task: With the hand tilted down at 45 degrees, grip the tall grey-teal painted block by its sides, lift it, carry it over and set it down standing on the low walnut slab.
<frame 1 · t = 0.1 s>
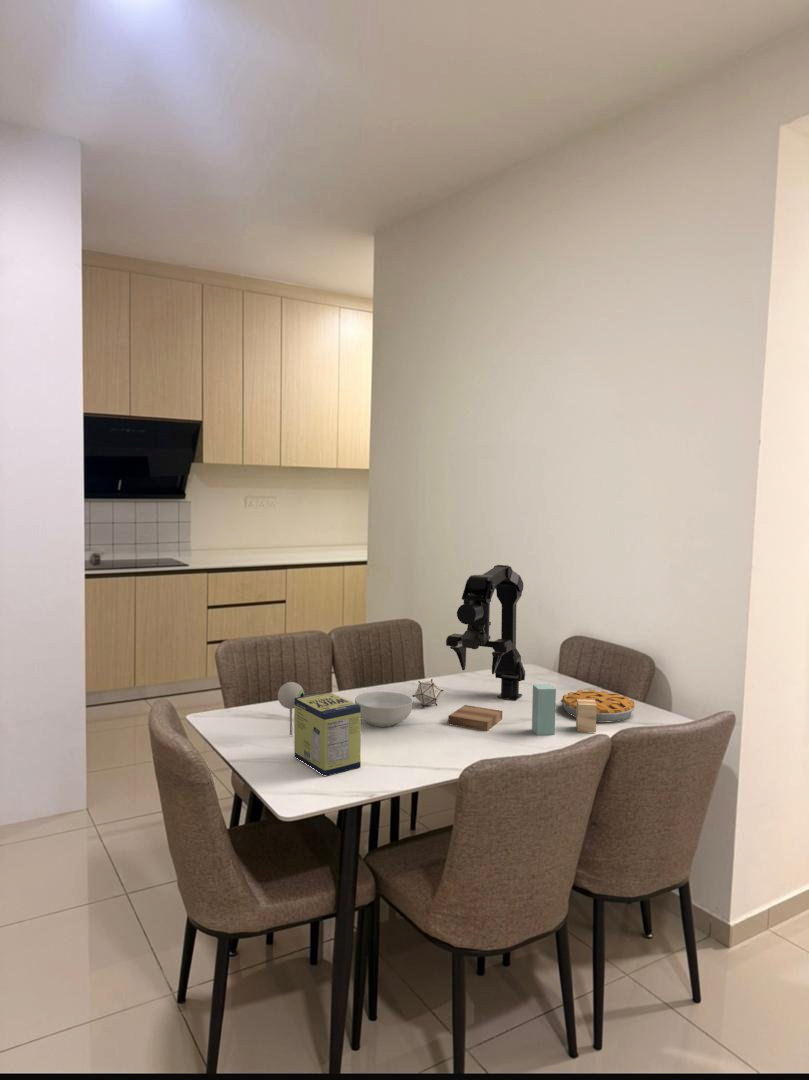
hand: (478, 672, 220), 15 cm above the table, tool pointing down, fingers open, 9 cm apart
walnut slab: (475, 723, 221), on the table
protein box: (326, 763, 188), on the table
teal block: (543, 732, 212), on the table
cereal bowl: (383, 723, 219), on the table
lollipop: (290, 737, 206), on the table
oak block: (585, 729, 215), on the table
pie: (597, 713, 231), on the table
wireframe polyhedron model: (427, 706, 236), on the table
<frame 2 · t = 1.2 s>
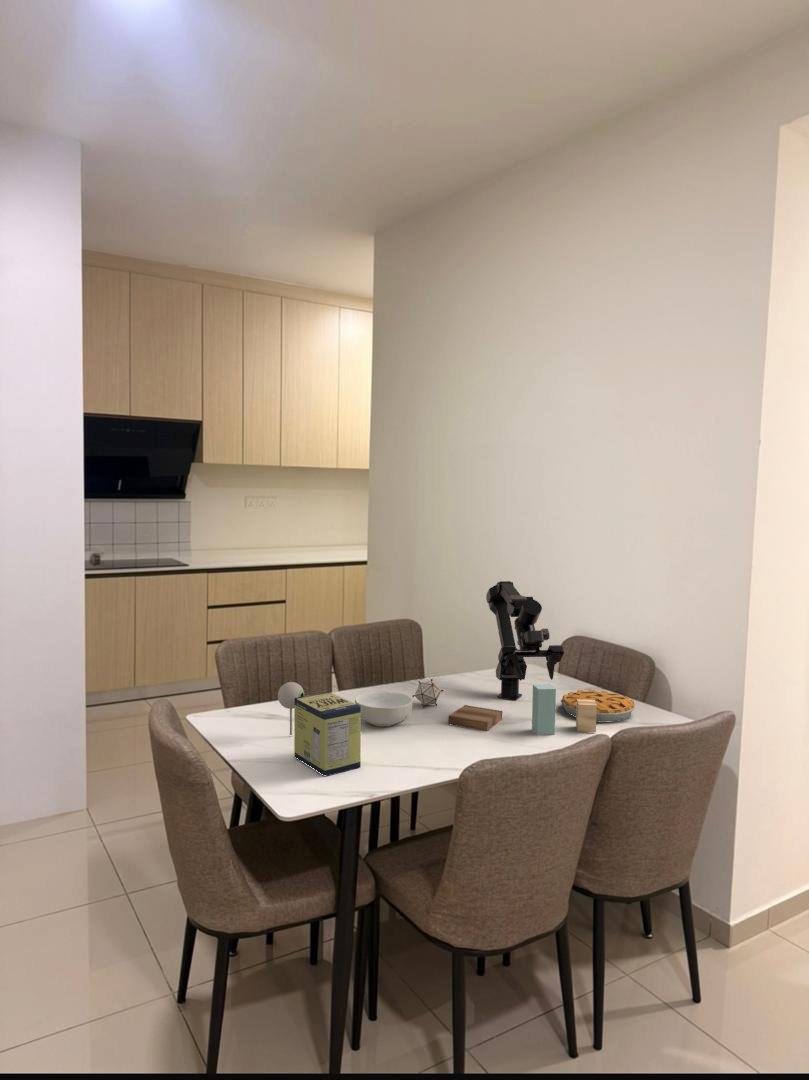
hand: (536, 679, 218), 13 cm above the table, tool tilted 45°, fingers open, 9 cm apart
nothing on the table moved.
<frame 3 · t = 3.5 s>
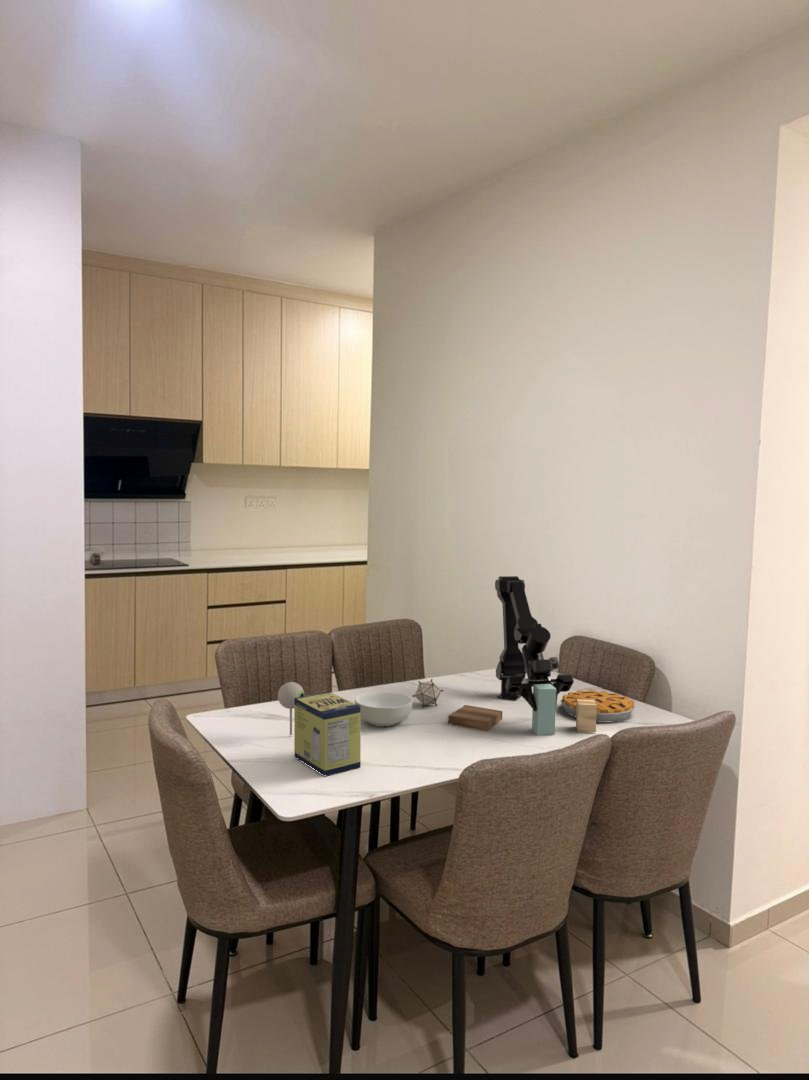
hand: (545, 710, 210), 7 cm above the table, tool tilted 45°, fingers closed on teal block, 5 cm apart
teal block: (543, 731, 212), on the table, touching gripper
everything else where it was.
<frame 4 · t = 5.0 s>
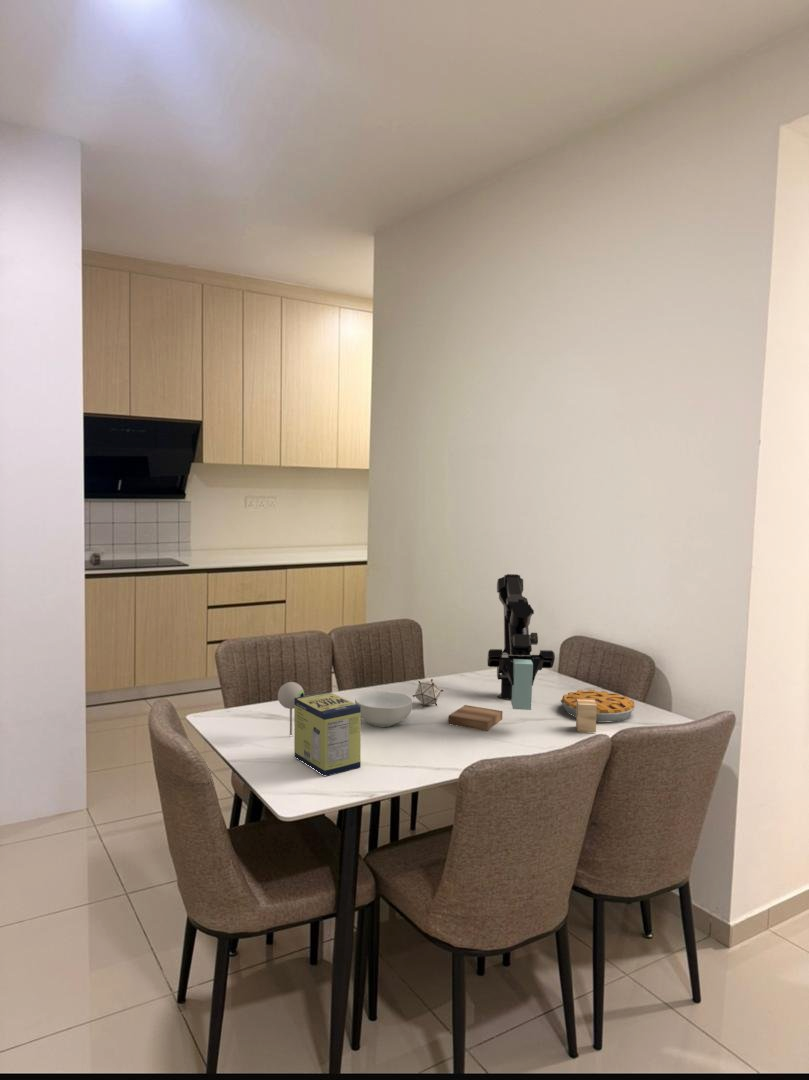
hand: (522, 684, 211), 13 cm above the table, tool tilted 45°, fingers closed on teal block, 5 cm apart
teal block: (521, 706, 213), point 7 cm above the table, touching gripper
everything else where it was.
when the fingers open (11 cm above the table, at t = 6.6 s): teal block drops 2 cm, resting on walnut slab.
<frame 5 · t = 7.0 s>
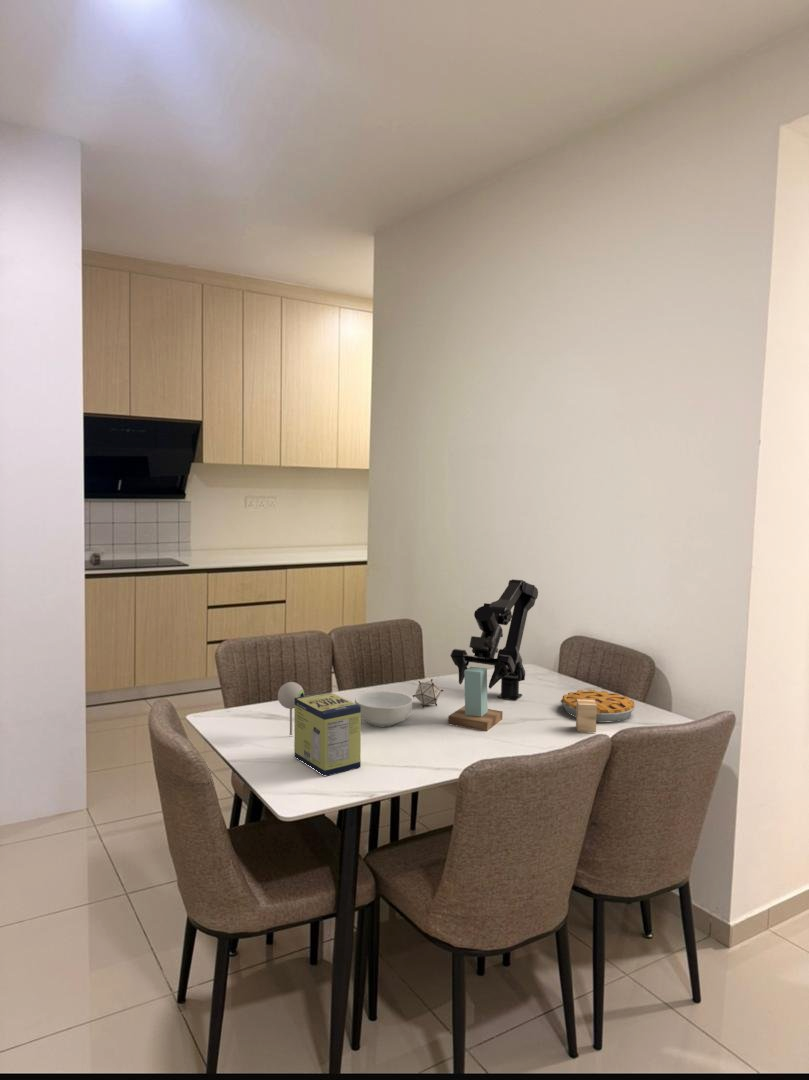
hand: (474, 685, 218), 11 cm above the table, tool tilted 45°, fingers open, 9 cm apart
walnut slab: (475, 723, 221), on the table, touching teal block
teal block: (476, 713, 220), point 2 cm above the table, touching walnut slab
everything else where it was.
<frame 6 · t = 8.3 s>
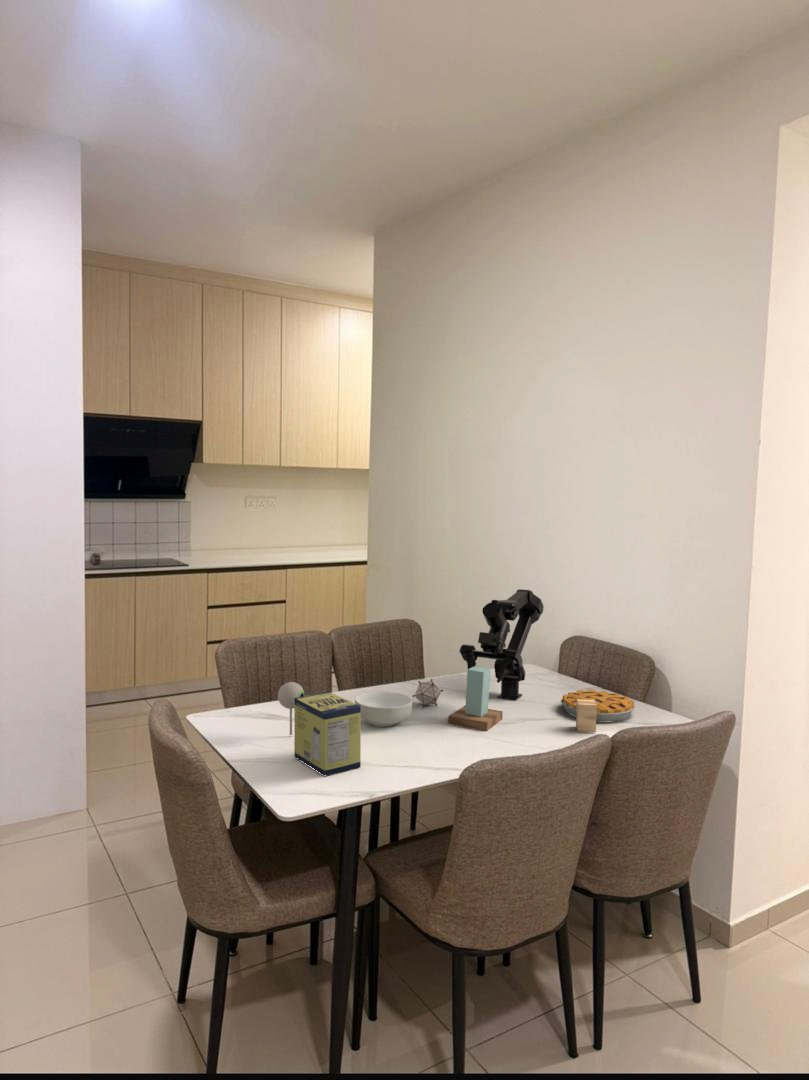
hand: (483, 680, 224), 11 cm above the table, tool tilted 45°, fingers open, 9 cm apart
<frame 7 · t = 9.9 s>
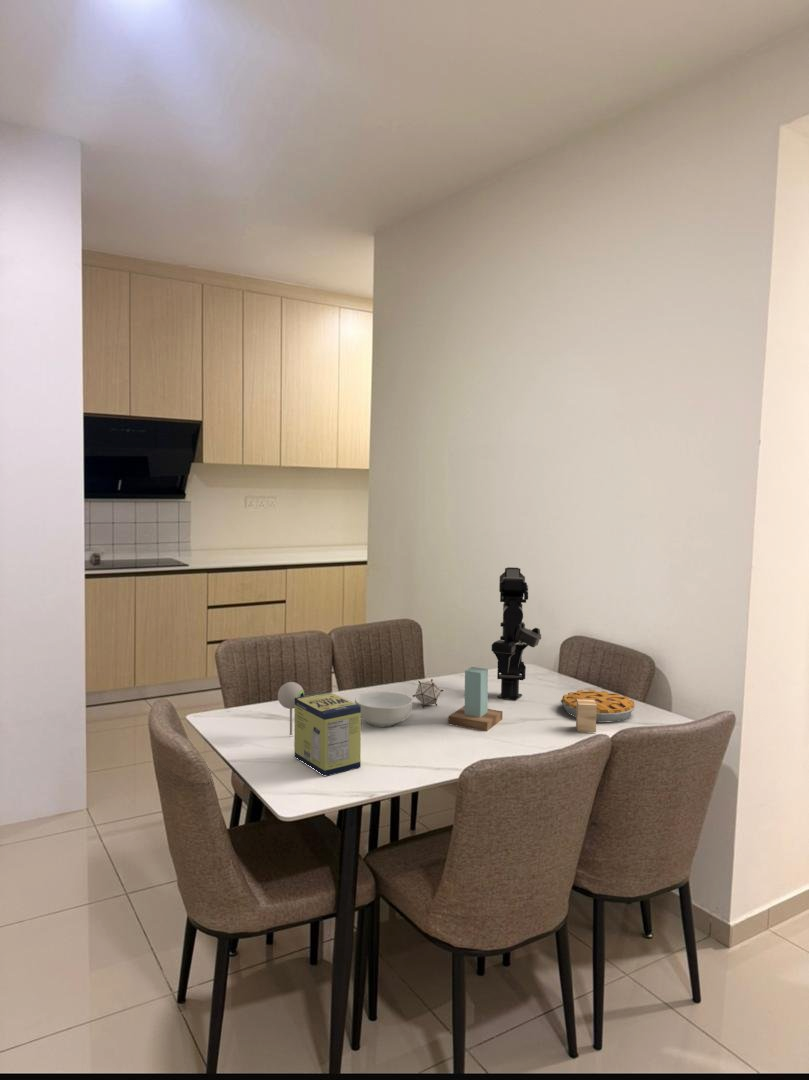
hand: (511, 670, 228), 13 cm above the table, tool pointing down, fingers open, 9 cm apart
nothing on the table moved.
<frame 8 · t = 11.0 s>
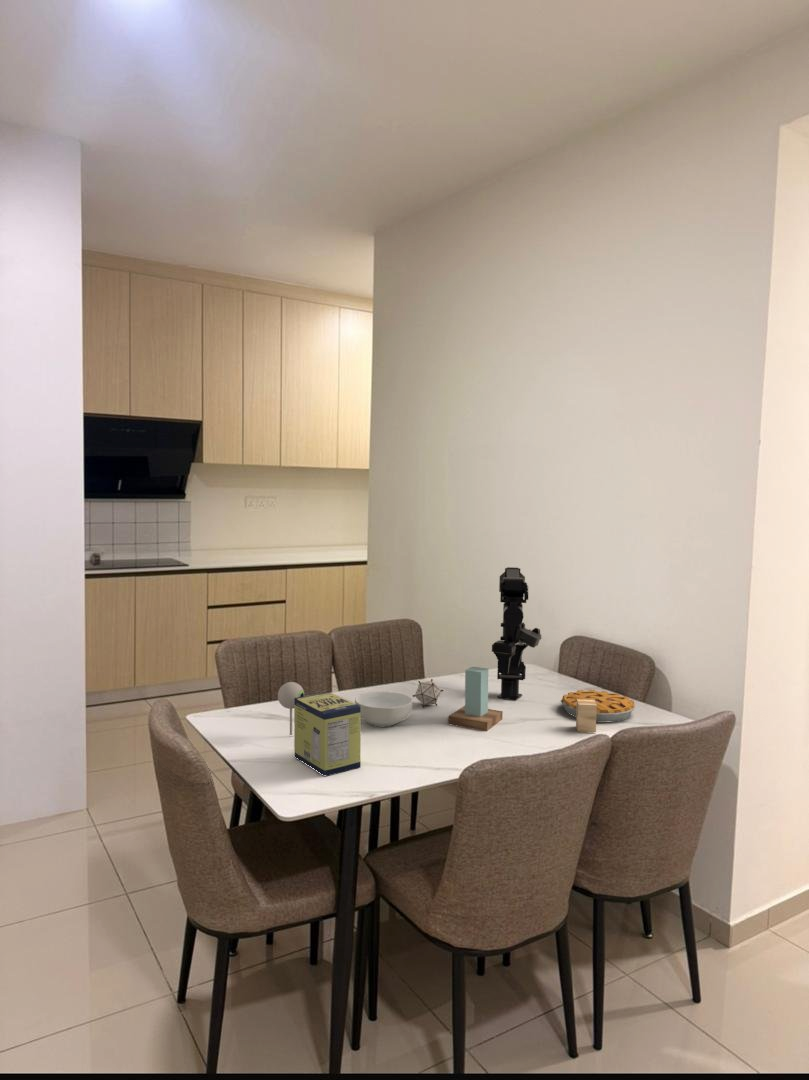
hand: (511, 670, 228), 13 cm above the table, tool pointing down, fingers open, 9 cm apart
walnut slab: (475, 723, 221), on the table
teal block: (476, 713, 221), point 2 cm above the table
everything else where it was.
at the end: teal block inside the target area on the walnut slab (0.1 cm from its centre), point 3.1 cm above the walnut slab's base; teal block tilted 2°; the gripper is holding nothing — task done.
